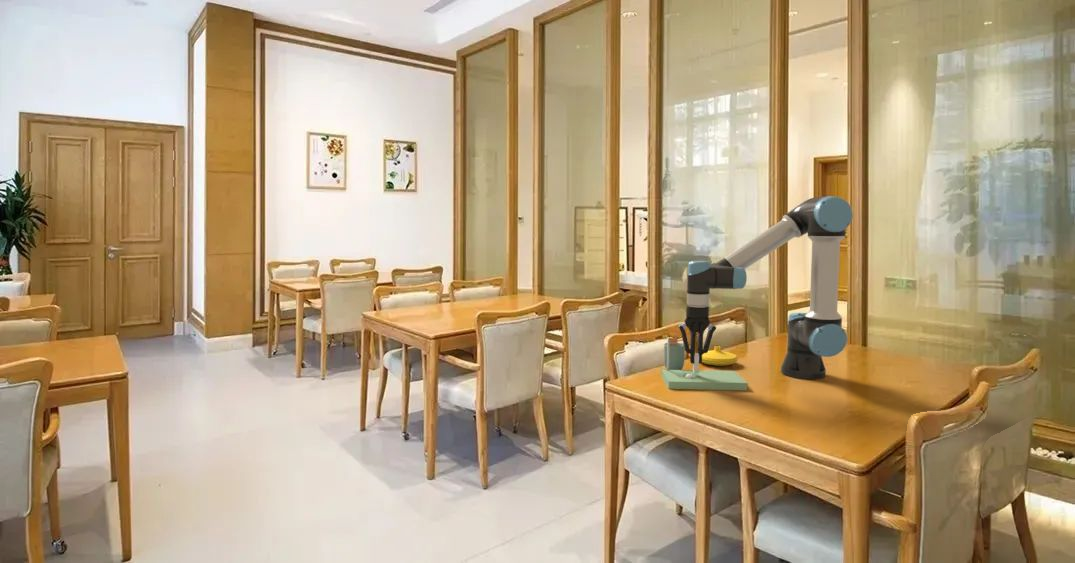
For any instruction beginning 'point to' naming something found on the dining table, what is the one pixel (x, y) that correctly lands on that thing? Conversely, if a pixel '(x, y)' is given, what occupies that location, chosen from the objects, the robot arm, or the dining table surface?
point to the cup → (675, 356)
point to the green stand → (701, 377)
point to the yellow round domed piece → (719, 357)
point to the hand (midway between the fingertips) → (695, 372)
